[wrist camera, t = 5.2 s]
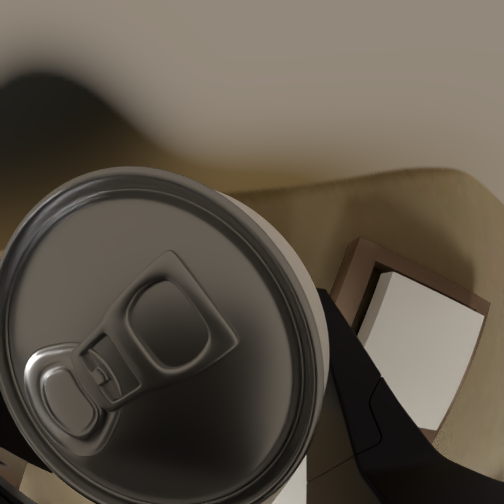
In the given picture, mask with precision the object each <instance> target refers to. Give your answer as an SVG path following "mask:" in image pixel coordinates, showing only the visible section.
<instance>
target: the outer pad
mask: <svg viewBox="0 0 504 504" xmlns="http://www.w3.org/2000/svg"><path fill="white" fill-rule="evenodd" d="M483 319H484V316H483V315H481V314H479V313H477V312H475V311H473V310H471V309H469V308H467V307H466V306H464V305H462V304H460V303H458V302H456V301H454V300H452V299H450V298H448V297H446V296H444V295H441V294H439V293H437V292H435V291H433V290H431V289H429V288H427V287H425V286H423V285H421V284H419V283H417V282H415V281H412V280H410V279H408V278H406V277H404V276H402V275H400V274H398V273H395V272H387V273H382V274H381V275H380V278H379V281H378V284H377V286H376V289H375V292H374V295H373V297H372V300H371V303H370V305H369V308H368V310H367V313H366V315H365V318H364V320H363V323H362V325H361V328H360V330H359V332H358V335H357V337H358V339H359V340H360V342H361V343H362V345H363V346H364V348H365V350H366V351H367V353H368V354H369V356H370V357H371V359H372V360H373V362H374V364H375V365H376V367H377V368H378V370H379V372H380V373H381V377H383V378H384V379H385V381H386V383H387V384H388V386H389V387H390V389H391V390H392V392H393V393H394V395H395V396H396V398H397V399H398V401H399V402H400V404H401V405H402V406H403V408H404V409H405V410H406V412H407V413H408V415H409V416H410V417H411V418H412V420H413V421H414V422H415V424H416V425H417V426H418V427H419V428H425V429H430V430H437V429H438V427H439V425H440V423H441V421H442V419H443V418H444V416H445V414H446V412H447V410H448V408H449V406H450V404H451V402H452V400H453V398H454V396H455V394H456V391H457V389H458V387H459V385H460V383H461V380H462V378H463V376H464V373H465V371H466V368H467V366H468V363H469V361H470V358H471V355H472V353H473V350H474V347H475V344H476V341H477V338H478V335H479V332H480V329H481V326H482V323H483Z"/></svg>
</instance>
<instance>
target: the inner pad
mask: <svg viewBox="0 0 504 504" xmlns="http://www.w3.org/2000/svg"><path fill="white" fill-rule="evenodd" d="M306 483H307V482H306V455H305V457H304V459H303V460H302V462H301V464H300V465H299V467H298V468H297V469H296V471H295V472H294V474H293V475H292V476H291V477H290V478H289V480H288V481H287V482H286V483H285V484H284V485H283V486H282V487H281V488H280V489H279V490H278V491H277V492H275V493H274V494H273V495H272V496H271V497H269V498H268V499H267V500H265V501H264V502H262V503H261V504H306Z"/></svg>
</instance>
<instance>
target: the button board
mask: <svg viewBox="0 0 504 504" xmlns="http://www.w3.org/2000/svg"><path fill="white" fill-rule="evenodd" d="M373 269H374V270H376V271H379V272H381V273H387V272H395V273H398V274H400V275H402V276H404V277H406V278H408V279H410V280H412V281H415V282H417V283H419V284H421V285H423V286H425V287H427V288H429V289H431V290H433V291H435V292H437V293H439V294H441V295H444V296H446V297H448V298H450V299H452V300H454V301H456V302H458V303H460V304H462V305H464V306H466V307H467V308H469V309H471V310H473V311H475V312H477V313H479V314H481V315H483V316H484V319H483V323H482V326H481V329H480V332H479V335H478V338H477V341H476V344H475V347H474V350H473V353H472V355H471V358H470V361H469V363H468V366H467V368H466V371H465V373H464V376H463V378H462V380H461V383H460V385H459V387H458V389H457V391H456V394H455V396H454V398H453V400H452V402H451V404H450V406H449V408H448V410H447V412H446V414H445V416H444V418H443V419H442V421H441V423H440V425H439V427H438V429H437V430H430V429H425V428H419V427H418V428H419V429H420V430H421V431H422V433H423V434H424V435H425V437H426V438H427V439H428V441H429V442H430V443H431V444H432V442H433V441H434V439H435V437H436V436H437V434H438V432H439V430H440V429H441V427H442V425H443V423H444V421H445V419H446V418H447V416H448V414H449V412H450V410H451V408H452V406H453V404H454V402H455V400H456V398H457V396H458V393H459V391H460V389H461V387H462V385H463V382H464V380H465V378H466V375H467V373H468V370H469V368H470V365H471V363H472V360H473V358H474V355H475V352H476V349H477V347H478V344H479V341H480V338H481V335H482V332H483V328H484V325H485V322H486V318H487V315H488V311H489V307H490V302H488V301H486V300H485V299H483V298H481V297H479V296H478V295H476V294H474V293H472V292H470V291H468V290H467V289H465V288H463V287H461V286H459V285H457V284H455V283H454V282H452V281H450V280H448V279H446V278H444V277H442V276H440V275H438V274H436V273H434V272H433V271H431V270H429V269H427V268H425V267H423V266H421V265H419V264H417V263H415V262H413V261H411V260H409V259H407V258H405V257H402V256H400V255H398V254H396V253H394V252H392V251H390V250H388V249H386V248H384V247H382V246H379V245H377V244H375V243H373V242H371V241H369V240H366V239H364V238H362V237H359V238H357V239H355V240H354V241H352V242H351V243H349V246H348V248H347V251H346V254H345V257H344V259H343V262H342V265H341V267H340V270H339V273H338V275H337V278H336V280H335V283H334V286H333V288H332V291H331V293H330V297H331V298H332V300H333V301H334V303H335V304H336V306H337V307H338V309H339V310H340V312H341V313H342V315H343V316H344V318H345V319H346V321H347V322H348V324H349V325H350V327H351V325H352V323H353V320H354V318H355V315H356V313H357V310H358V308H359V305H360V303H361V300H362V298H363V295H364V292H365V290H366V287H367V284H368V281H369V279H370V276H371V273H372V270H373Z"/></svg>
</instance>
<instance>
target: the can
mask: <svg viewBox="0 0 504 504" xmlns="http://www.w3.org/2000/svg"><path fill="white" fill-rule="evenodd" d="M328 371H329V337H328V329H327V324H326V319H325V315H324V311H323V307H322V304H321V301H320V298H319V295H318V292H317V290H316V288H315V285H314V283H313V281H312V279H311V277H310V275H309V273H308V271H307V269H306V268H305V266H304V264H303V263H302V261H301V259H300V258H299V257H298V255H297V254H296V252H295V251H294V250H293V248H292V247H291V246H290V244H289V243H288V242H287V241H286V240H285V238H284V237H283V236H282V235H281V234H280V233H279V232H278V231H277V230H276V229H275V228H274V227H273V226H272V225H271V224H270V223H269V222H267V221H266V220H265V219H264V218H263V217H261V216H260V215H259V214H258V213H256V212H255V211H253V210H252V209H251V208H249V207H248V206H246V205H244V204H243V203H241V202H239V201H237V200H236V199H234V198H232V197H230V196H228V195H226V194H223V193H221V192H218V191H216V190H213V189H211V188H209V187H207V186H206V185H204V184H202V183H199V182H197V181H195V180H193V179H190V178H188V177H185V176H183V175H180V174H177V173H173V172H169V171H165V170H161V169H156V168H149V167H136V166H135V167H134V166H127V167H113V168H107V169H102V170H97V171H94V172H90V173H87V174H84V175H82V176H79V177H77V178H74V179H72V180H70V181H68V182H67V183H65V184H63V185H61V186H60V187H58V188H56V189H55V190H53V191H52V192H51V193H49V194H48V195H47V196H45V197H44V198H43V199H42V200H41V201H40V202H39V203H38V204H37V205H35V206H34V208H33V209H32V210H31V211H30V212H29V213H28V214H27V215H26V216H25V218H24V219H23V220H22V222H21V223H20V224H19V226H18V227H17V229H16V230H15V232H14V233H13V235H12V237H11V239H10V240H9V242H8V244H7V246H6V248H5V250H4V252H3V255H2V257H1V260H0V391H1V394H2V396H3V399H4V401H5V404H6V406H7V408H8V410H9V412H10V414H11V416H12V418H13V420H14V422H15V424H16V426H17V427H18V429H19V431H20V432H21V434H22V435H23V437H24V438H25V440H26V441H27V443H28V444H29V445H30V447H31V448H32V449H33V451H34V452H35V453H36V454H37V456H38V457H39V458H40V459H41V460H42V461H43V462H44V464H45V465H46V466H47V467H48V468H49V469H50V470H51V471H52V472H53V473H54V474H55V475H57V476H58V477H59V478H60V479H61V480H62V481H63V482H65V483H66V484H67V485H68V486H70V487H71V488H72V489H74V490H75V491H76V492H78V493H79V494H81V495H82V496H84V497H85V498H87V499H89V500H90V501H92V502H94V503H96V504H261V503H262V502H264V501H265V500H267V499H268V498H269V497H271V496H272V495H273V494H274V493H275V492H277V491H278V490H279V489H280V488H281V487H282V486H283V485H284V484H285V483H286V482H287V481H288V480H289V478H290V477H291V476H292V475H293V474H294V472H295V471H296V469H297V468H298V467H299V465H300V464H301V462H302V460H303V459H304V457H305V455H306V453H307V452H308V449H309V447H310V445H311V443H312V441H313V438H314V435H315V433H316V429H317V426H318V423H319V419H320V415H321V409H322V403H323V396H324V393H325V389H326V384H327V378H328Z"/></svg>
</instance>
